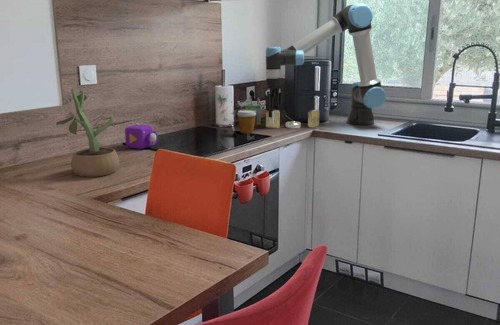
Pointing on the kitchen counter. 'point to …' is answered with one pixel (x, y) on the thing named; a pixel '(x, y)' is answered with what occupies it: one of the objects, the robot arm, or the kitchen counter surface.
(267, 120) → the tan striped slab
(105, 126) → the potted plant
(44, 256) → the kitchen counter surface
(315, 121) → the yellow white layered bar
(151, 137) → the toy camera
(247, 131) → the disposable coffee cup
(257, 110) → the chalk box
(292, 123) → the base plate
